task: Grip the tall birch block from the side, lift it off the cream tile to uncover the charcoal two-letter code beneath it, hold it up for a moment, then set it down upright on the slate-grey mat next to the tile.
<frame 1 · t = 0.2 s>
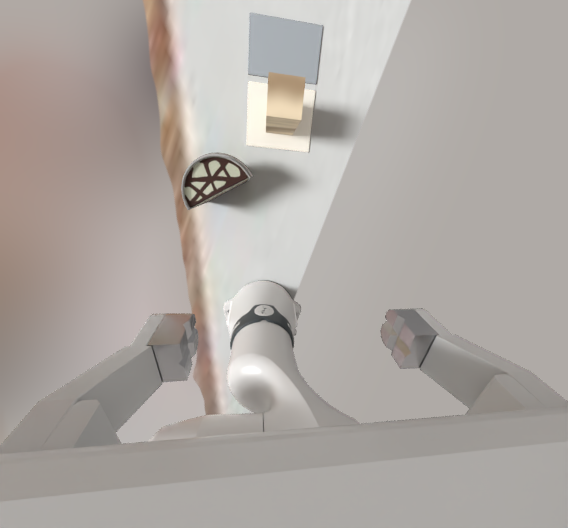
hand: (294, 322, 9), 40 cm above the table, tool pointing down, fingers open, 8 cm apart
code board: (282, 86, 39), on the table
birch block: (280, 118, 41), resting on code board
food container: (220, 176, 44), on the table
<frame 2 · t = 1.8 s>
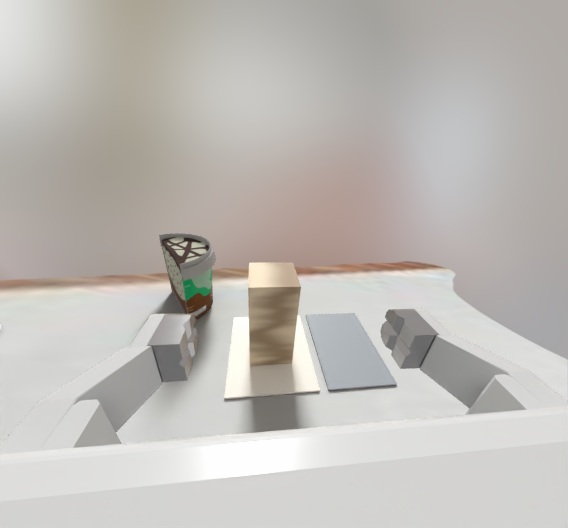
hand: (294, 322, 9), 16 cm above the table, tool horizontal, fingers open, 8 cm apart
code board: (307, 346, 29), on the table
birch block: (269, 347, 28), resting on code board
food container: (199, 300, 37), on the table
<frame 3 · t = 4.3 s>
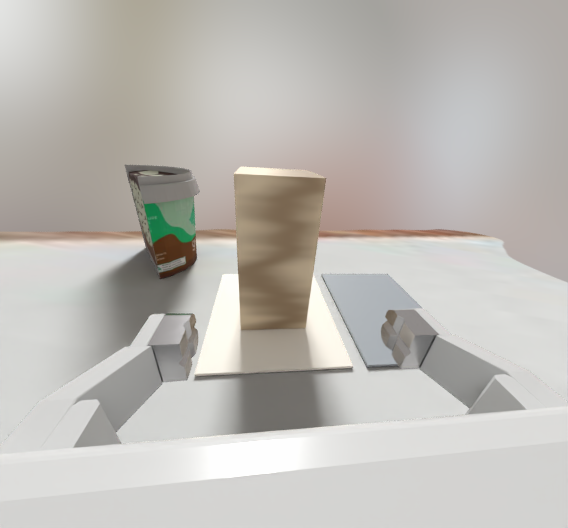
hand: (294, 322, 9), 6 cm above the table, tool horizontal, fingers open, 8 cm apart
code board: (327, 309, 20), on the table
birch block: (272, 308, 19), resting on code board
food container: (180, 257, 28), on the table
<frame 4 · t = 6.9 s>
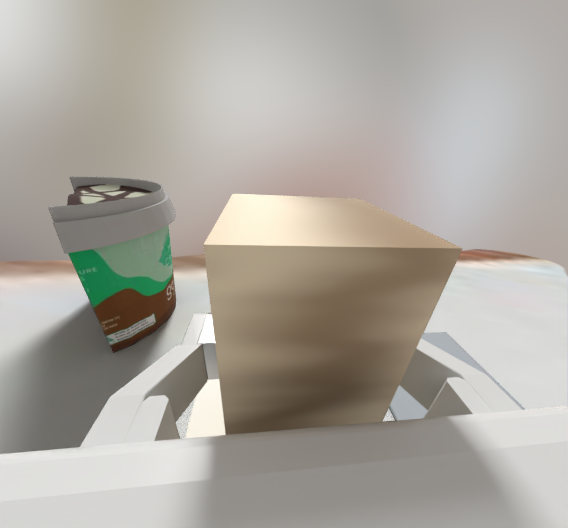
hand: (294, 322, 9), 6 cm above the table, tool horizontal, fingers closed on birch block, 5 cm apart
code board: (378, 420, 12), on the table
birch block: (287, 425, 11), resting on code board, touching gripper
food container: (152, 304, 20), on the table
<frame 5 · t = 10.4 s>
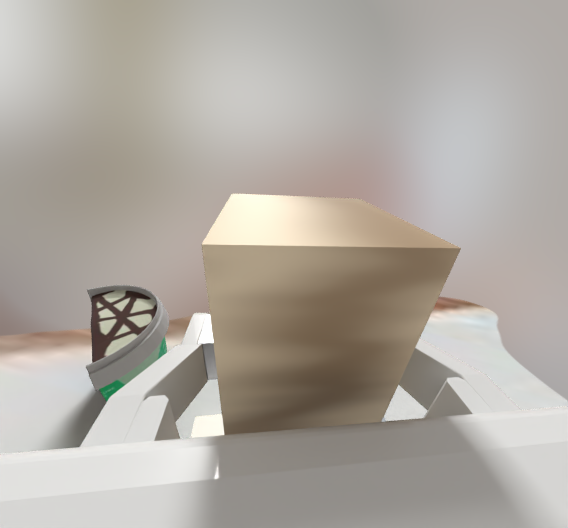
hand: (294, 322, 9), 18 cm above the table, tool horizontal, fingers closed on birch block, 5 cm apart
code board: (306, 485, 18), on the table
birch block: (287, 425, 11), point 12 cm above the table, touching gripper
food container: (152, 377, 26), on the table
when the fingers open (7 cm above the table, at t = 13.9 s): birch block drops 1 cm, resting on code board.
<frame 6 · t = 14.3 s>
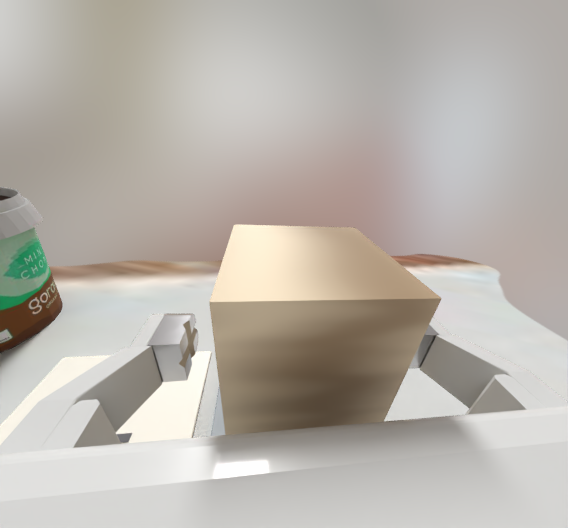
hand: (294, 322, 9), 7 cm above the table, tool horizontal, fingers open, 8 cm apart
code board: (189, 447, 11), on the table
birch block: (286, 438, 12), resting on code board
food container: (34, 316, 19), on the table
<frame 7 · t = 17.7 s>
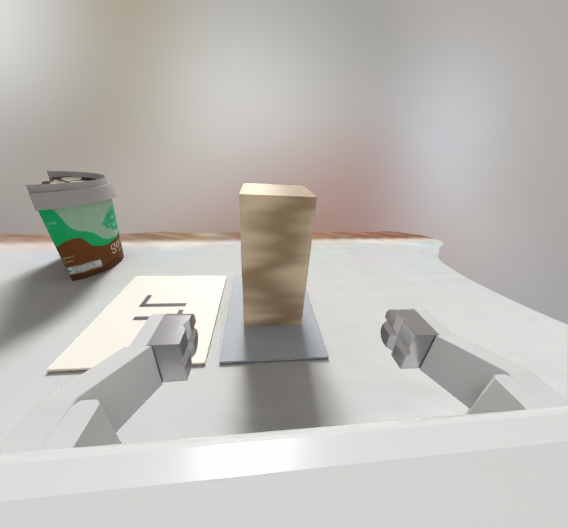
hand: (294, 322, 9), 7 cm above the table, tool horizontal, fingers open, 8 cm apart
code board: (218, 309, 21), on the table
birch block: (271, 307, 21), resting on code board
food container: (106, 259, 29), on the table
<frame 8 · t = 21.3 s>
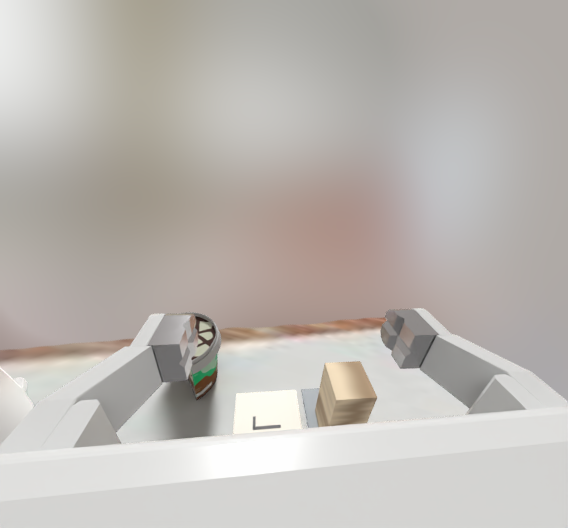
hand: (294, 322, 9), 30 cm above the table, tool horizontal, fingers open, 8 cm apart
code board: (301, 429, 33), on the table
birch block: (335, 426, 33), resting on code board
food container: (205, 370, 40), on the table
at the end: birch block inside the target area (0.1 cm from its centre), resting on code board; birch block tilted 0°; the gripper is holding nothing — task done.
